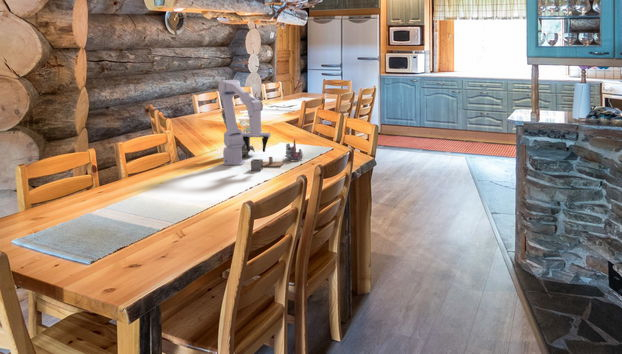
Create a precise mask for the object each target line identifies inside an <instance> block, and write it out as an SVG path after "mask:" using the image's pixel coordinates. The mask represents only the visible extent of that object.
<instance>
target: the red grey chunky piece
mask: <svg viewBox="0 0 622 354" xmlns="http://www.w3.org/2000/svg"><path fill="white" fill-rule="evenodd" d="M296 144H297V143H296V139H293V146H291V144H290V143H286V145H285V147H286V148H285V155H284V157H286V159H288V161H290V160H299V161H301V160H300V159H303V157H304V154H303V151H302V148H299V149H298V151H297V147H296Z"/></svg>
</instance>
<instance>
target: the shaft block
mask: <svg viewBox="0 0 622 354" xmlns="http://www.w3.org/2000/svg"><path fill="white" fill-rule="evenodd" d="M273 160H274V159H273V156H269V157H268V161H263V168H266V167H281V166H282V167H283V166H284V165H285V162H284V161H273ZM282 167H281V168H282Z"/></svg>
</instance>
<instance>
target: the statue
mask: <svg viewBox="0 0 622 354" xmlns="http://www.w3.org/2000/svg"><path fill="white" fill-rule="evenodd" d="M220 113H221V116H222V119H223V123H224V125H225V129H226V131H227V130H228V128H227V123H226V118H225V112H224V107H223V109H222V110H221V112H220ZM237 128H238V129H240V130H241V131H242V129H241V128H239V126H238V125H237ZM231 135H236V134H231ZM250 152H254V153H256V152H255V148H254V146H253V145H250ZM244 156H249V152H248V150H247V147H246V144H245V142H244V145H243V147H242V157H244Z"/></svg>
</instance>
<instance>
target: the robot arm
mask: <svg viewBox="0 0 622 354" xmlns="http://www.w3.org/2000/svg"><path fill="white" fill-rule="evenodd" d="M217 88H218V93H219V97H220V98H221V101H222V106H223V108H224V112H225V118H226V123H227V128H228V130H227V129H226V131H225V132H224V133H223V143H224V146H225V147H224V148H223V165H224V166H227V165H228V166H240V165H243V164H244V163H245V161H244V160H243V156H242V147H243V145H244V142H245V144H246V147H247V150H248V152H250V153H251V151H250V150H251V149H250V146H251V145H250V142H251V138H261V141H262V142H261V143H262V152H263V153H265V152H266V147H267V145H268V144H267V143H268V140H269V139H270V138H271V132H262V116H261V115H262V111H263V108H264V104H263V101H262V100H261V99H256V98H255V97H254V96H253V95H252V94H251V93H250V92H249V91H245V90H244V88H243V87H242V86H241V83H240V81H239V80H238V79H237V78H236V79H220V81H219V82H218V85H217ZM236 95H238V96H239V99H240V101H241V102H242V104H243V105H245V107H246V110H247V115H248V118H249V132H243V130H242V129H241V128H239V127H238V128H237V126H238V122H237V119H236V114H235V113H236V112H235V108H234V103H233V97H236ZM240 129H241V130H240ZM231 134H236V135H231Z"/></svg>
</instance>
